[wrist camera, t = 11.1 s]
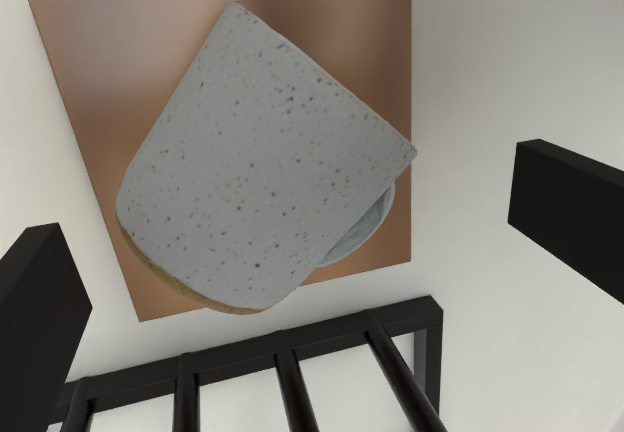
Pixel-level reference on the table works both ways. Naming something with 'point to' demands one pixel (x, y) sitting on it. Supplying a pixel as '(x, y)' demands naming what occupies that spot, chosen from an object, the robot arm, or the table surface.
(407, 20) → the copper coaster
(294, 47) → the ceramic mug
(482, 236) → the table surface
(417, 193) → the table surface
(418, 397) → the dish rack
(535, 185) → the robot arm
